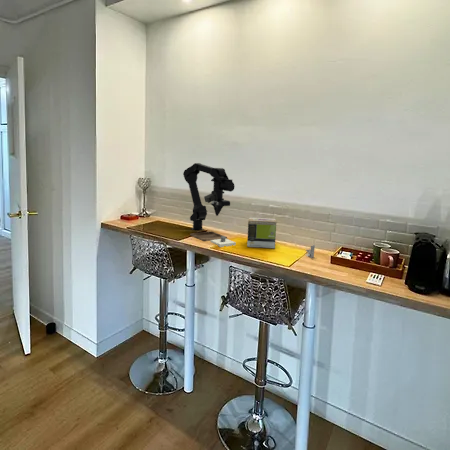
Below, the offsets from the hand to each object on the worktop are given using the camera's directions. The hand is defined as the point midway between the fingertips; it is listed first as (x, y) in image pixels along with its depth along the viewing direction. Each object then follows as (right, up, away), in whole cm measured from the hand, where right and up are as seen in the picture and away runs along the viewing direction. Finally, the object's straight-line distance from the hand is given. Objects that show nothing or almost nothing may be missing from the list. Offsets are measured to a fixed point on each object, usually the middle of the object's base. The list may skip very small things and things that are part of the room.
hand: (216, 215), depth 209 cm
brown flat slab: (-5, -13, -6) cm, 15 cm away
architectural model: (+42, -22, -37) cm, 60 cm away
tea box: (+24, -17, -18) cm, 35 cm away
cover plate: (+4, -17, -18) cm, 25 cm away
